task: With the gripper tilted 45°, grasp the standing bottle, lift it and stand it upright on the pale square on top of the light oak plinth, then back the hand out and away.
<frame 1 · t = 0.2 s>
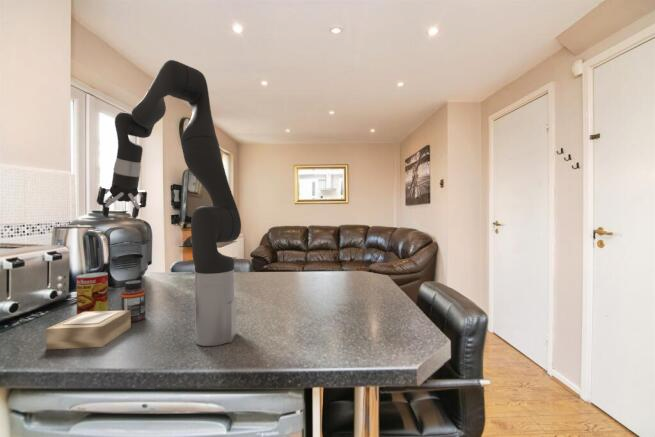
hand: (120, 217, 104), 30 cm above the kitchen counter, tool tilted 20°, fingers open, 8 cm apart
oak plinth: (92, 337, 74), on the kitchen counter
canned food: (92, 312, 94), on the kitchen counter
supplement bottle: (133, 320, 87), on the kitchen counter
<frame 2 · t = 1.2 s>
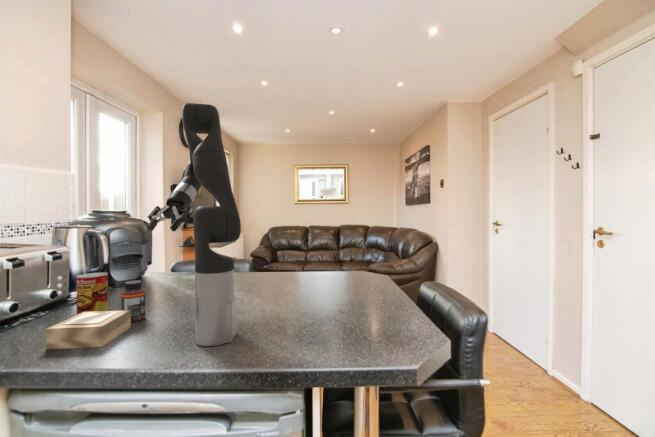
hand: (160, 229, 98), 26 cm above the kitchen counter, tool tilted 45°, fingers open, 8 cm apart
nothing on the kitchen counter moved.
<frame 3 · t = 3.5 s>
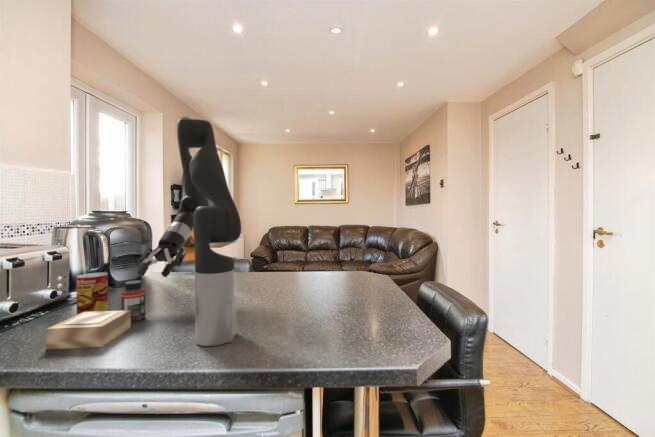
hand: (151, 275, 94), 12 cm above the kitchen counter, tool tilted 45°, fingers open, 8 cm apart
nothing on the kitchen counter moved.
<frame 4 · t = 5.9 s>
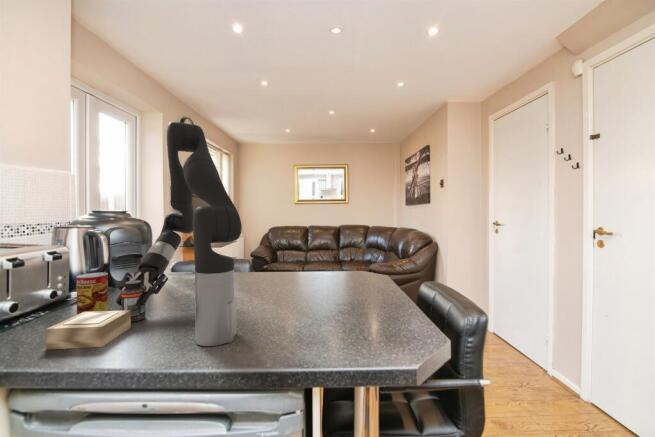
hand: (128, 304, 85), 5 cm above the kitchen counter, tool tilted 45°, fingers closed on supplement bottle, 6 cm apart
supplement bottle: (133, 320, 87), on the kitchen counter, touching gripper
everything else where it was.
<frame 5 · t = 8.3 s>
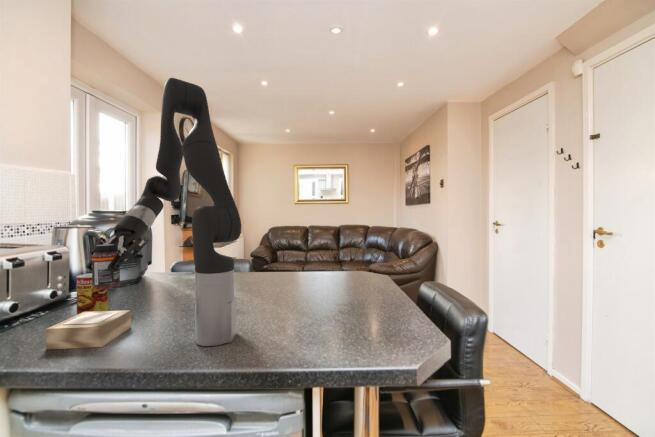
hand: (100, 269, 76), 17 cm above the kitchen counter, tool tilted 45°, fingers closed on supplement bottle, 6 cm apart
supplement bottle: (106, 287, 78), point 12 cm above the kitchen counter, touching gripper
everything else where it was.
when the fingers open (11 cm above the kitchen counter, at t = 10.5 s): supplement bottle drops 1 cm, resting on oak plinth.
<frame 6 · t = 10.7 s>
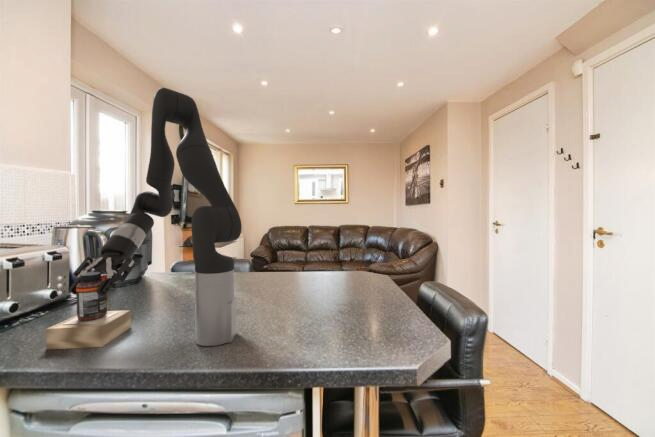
hand: (86, 293, 73), 12 cm above the kitchen counter, tool tilted 45°, fingers open, 7 cm apart
supplement bottle: (92, 318, 74), point 5 cm above the kitchen counter, touching oak plinth
everything else where it was.
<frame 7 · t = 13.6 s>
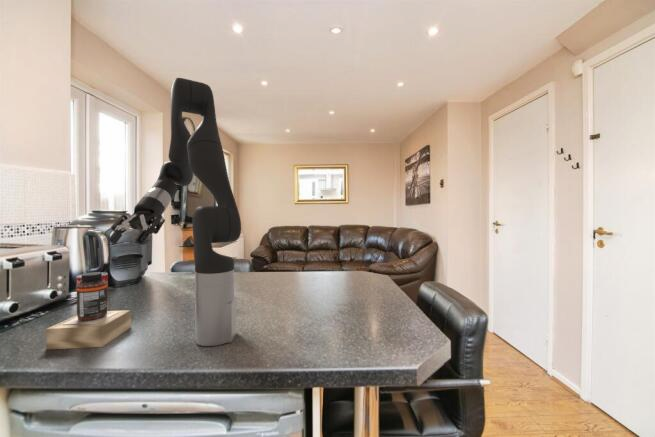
hand: (124, 242, 84), 23 cm above the kitchen counter, tool tilted 45°, fingers open, 8 cm apart
nothing on the kitchen counter moved.
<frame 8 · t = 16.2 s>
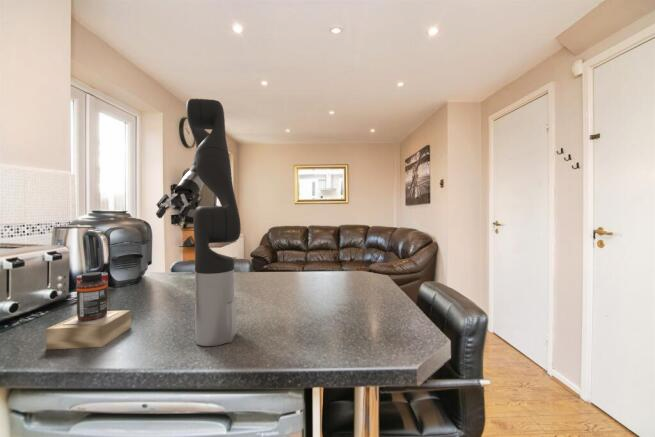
hand: (169, 216, 99), 31 cm above the kitchen counter, tool tilted 45°, fingers open, 8 cm apart
nothing on the kitchen counter moved.
at the end: supplement bottle inside the target area on the oak plinth (0.2 cm from its centre), point 4.8 cm above the oak plinth's base; supplement bottle tilted 0°; the gripper is holding nothing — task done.
